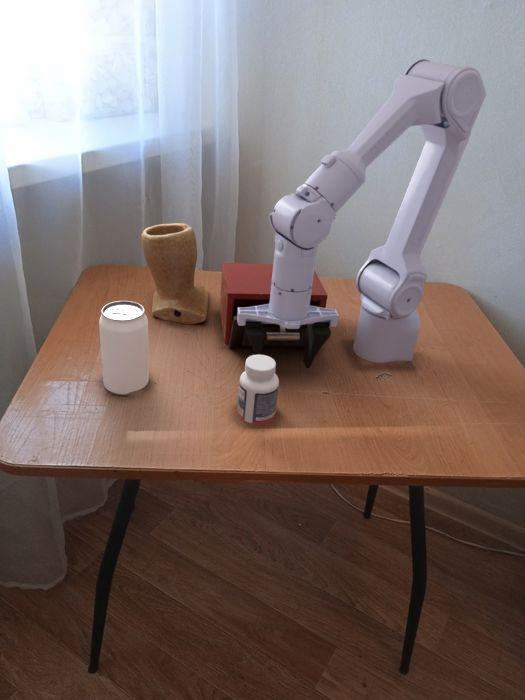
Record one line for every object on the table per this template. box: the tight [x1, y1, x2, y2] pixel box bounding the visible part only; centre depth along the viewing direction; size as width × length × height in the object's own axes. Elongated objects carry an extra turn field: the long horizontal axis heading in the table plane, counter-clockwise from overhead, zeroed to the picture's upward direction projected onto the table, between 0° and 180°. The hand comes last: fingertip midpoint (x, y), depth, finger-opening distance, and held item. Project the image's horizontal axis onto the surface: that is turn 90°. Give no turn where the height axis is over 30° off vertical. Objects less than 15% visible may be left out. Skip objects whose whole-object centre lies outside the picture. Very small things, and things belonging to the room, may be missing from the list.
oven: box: [219, 262, 329, 345], centre depth 96 cm, size 16×12×10 cm
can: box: [98, 300, 150, 396], centre depth 78 cm, size 6×6×12 cm
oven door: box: [228, 316, 308, 350], centre depth 88 cm, size 15×4×9 cm, turn 98°
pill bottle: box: [236, 354, 280, 425], centre depth 75 cm, size 5×5×9 cm
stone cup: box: [140, 222, 209, 325], centre depth 99 cm, size 15×12×15 cm
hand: (282, 364), depth 85 cm, fingers open, 7 cm apart
